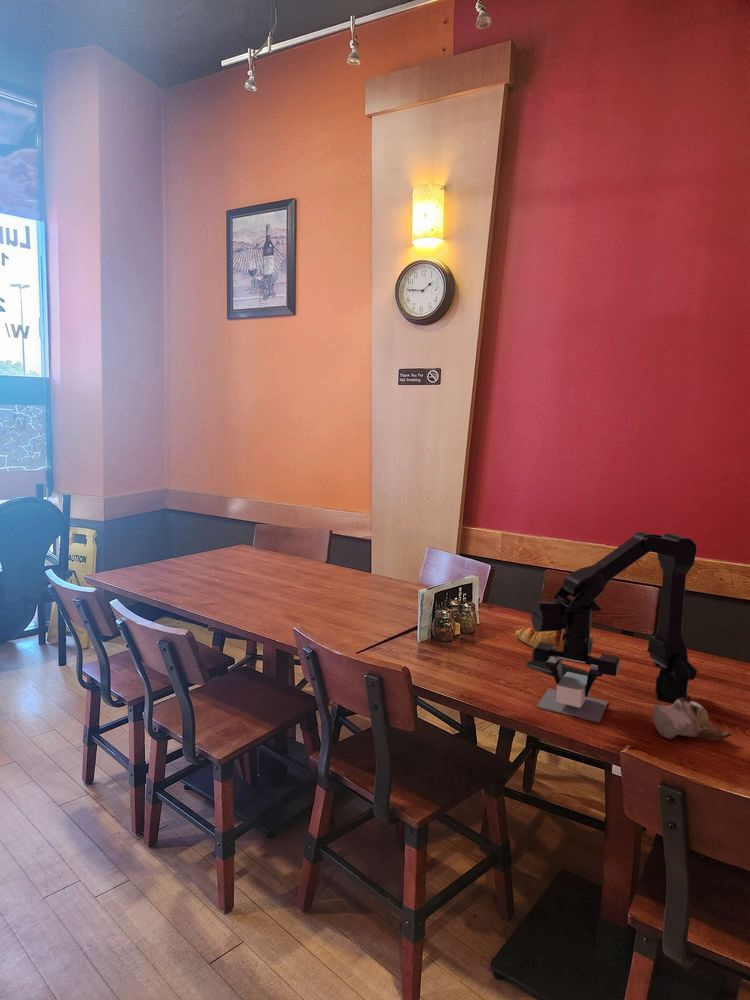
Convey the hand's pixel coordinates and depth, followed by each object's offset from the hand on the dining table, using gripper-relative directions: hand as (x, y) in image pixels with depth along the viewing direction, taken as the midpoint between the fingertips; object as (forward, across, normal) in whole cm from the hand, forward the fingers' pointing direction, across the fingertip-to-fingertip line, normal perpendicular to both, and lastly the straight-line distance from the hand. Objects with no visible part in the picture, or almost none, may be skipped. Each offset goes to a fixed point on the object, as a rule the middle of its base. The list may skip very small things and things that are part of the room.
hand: (573, 693), depth 152 cm
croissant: (+4, +14, -35) cm, 38 cm away
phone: (+4, +8, -18) cm, 20 cm away
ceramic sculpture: (+3, -24, +2) cm, 24 cm away
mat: (+3, 0, 0) cm, 3 cm away
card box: (+1, 0, 0) cm, 1 cm away
